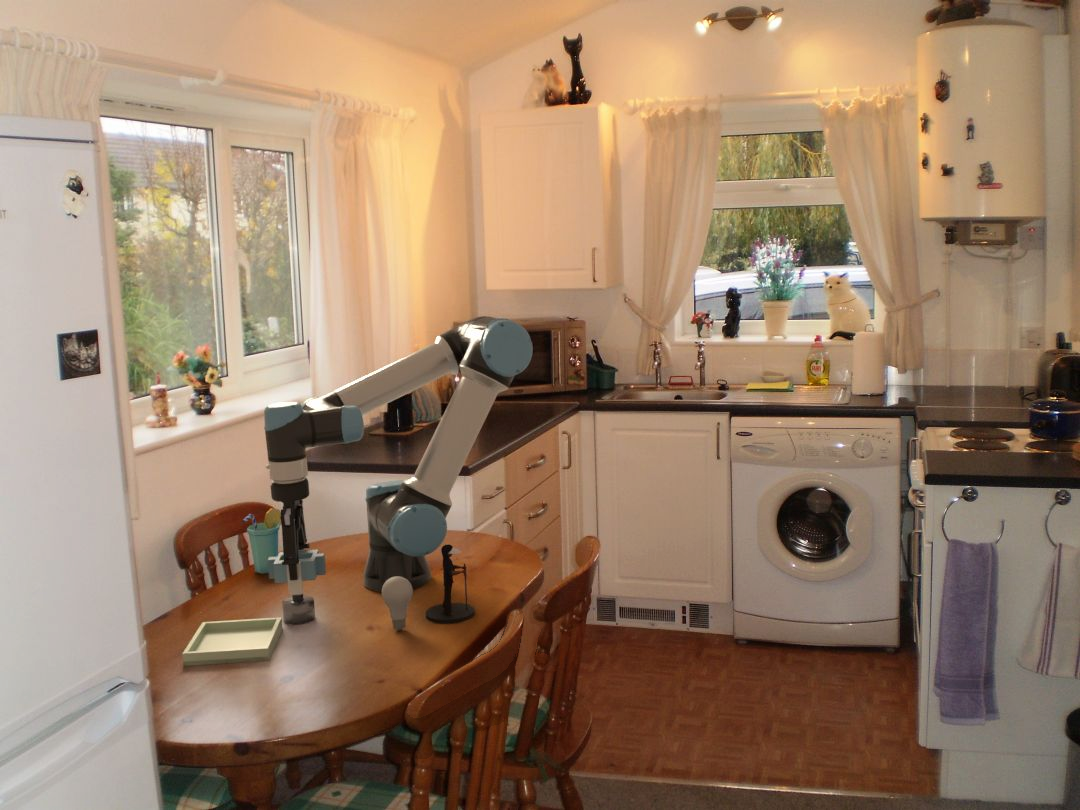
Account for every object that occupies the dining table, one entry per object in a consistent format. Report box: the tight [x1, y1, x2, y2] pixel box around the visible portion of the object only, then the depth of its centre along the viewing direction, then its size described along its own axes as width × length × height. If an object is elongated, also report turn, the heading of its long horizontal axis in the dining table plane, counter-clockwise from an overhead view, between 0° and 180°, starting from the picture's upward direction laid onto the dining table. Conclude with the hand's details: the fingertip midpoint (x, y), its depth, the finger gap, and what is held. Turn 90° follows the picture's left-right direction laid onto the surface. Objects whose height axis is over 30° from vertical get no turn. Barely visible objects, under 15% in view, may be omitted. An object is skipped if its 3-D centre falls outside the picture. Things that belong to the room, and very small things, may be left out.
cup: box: [241, 508, 282, 574], centre depth 259 cm, size 14×8×15 cm, turn 162°
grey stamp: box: [281, 584, 316, 626], centre depth 225 cm, size 6×6×12 cm
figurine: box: [425, 544, 476, 625], centre depth 224 cm, size 10×10×15 cm
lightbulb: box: [381, 576, 414, 631], centre depth 217 cm, size 6×6×11 cm
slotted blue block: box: [268, 549, 327, 584], centre depth 225 cm, size 11×8×4 cm
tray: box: [181, 616, 283, 667], centre depth 212 cm, size 16×17×2 cm
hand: (299, 587), depth 225 cm, fingers closed on slotted blue block, 8 cm apart
